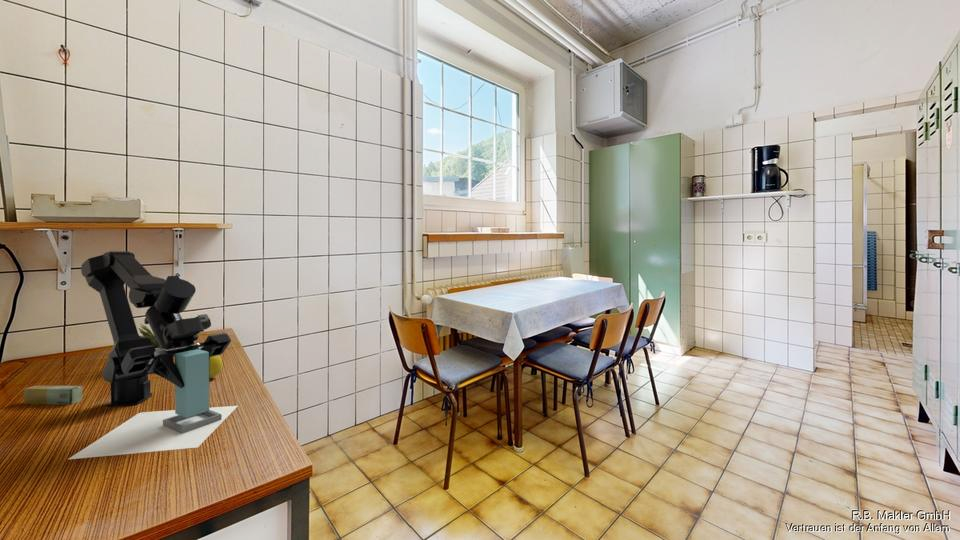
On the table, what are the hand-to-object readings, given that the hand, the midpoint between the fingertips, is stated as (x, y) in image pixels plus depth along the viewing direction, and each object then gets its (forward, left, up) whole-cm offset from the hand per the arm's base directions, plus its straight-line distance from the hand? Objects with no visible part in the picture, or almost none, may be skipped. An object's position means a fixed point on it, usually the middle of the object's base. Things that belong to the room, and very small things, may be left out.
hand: (195, 383), depth 80 cm
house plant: (-33, +55, -10) cm, 65 cm away
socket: (-1, +1, -9) cm, 9 cm away
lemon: (-11, +35, -10) cm, 38 cm away
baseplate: (-5, -1, -10) cm, 11 cm away
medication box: (-41, +23, -10) cm, 48 cm away
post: (-1, +1, -7) cm, 7 cm away
